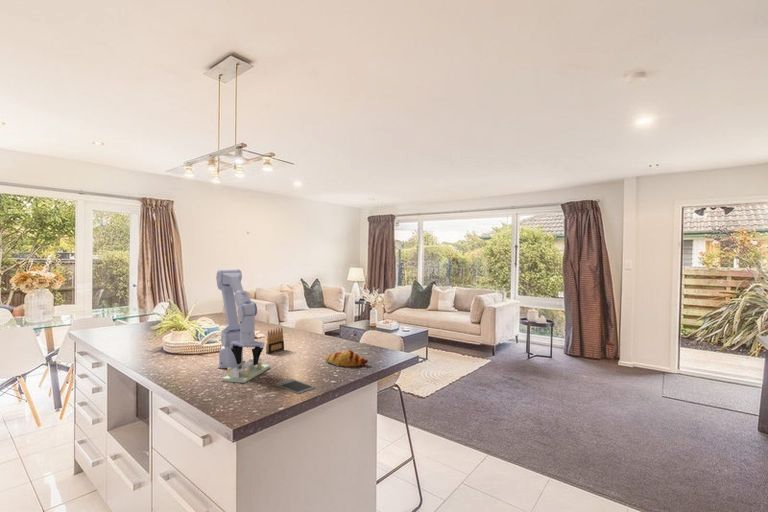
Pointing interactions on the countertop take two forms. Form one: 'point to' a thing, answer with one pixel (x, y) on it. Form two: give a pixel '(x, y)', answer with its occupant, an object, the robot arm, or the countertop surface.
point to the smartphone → (295, 386)
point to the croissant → (346, 359)
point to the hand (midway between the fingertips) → (247, 364)
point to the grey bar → (243, 369)
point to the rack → (246, 373)
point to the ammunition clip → (275, 341)
